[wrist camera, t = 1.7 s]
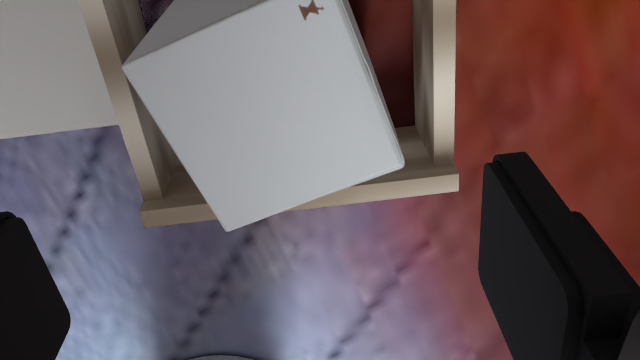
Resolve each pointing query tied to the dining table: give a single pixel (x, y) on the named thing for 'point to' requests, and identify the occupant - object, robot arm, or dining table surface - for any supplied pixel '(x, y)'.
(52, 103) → the mat
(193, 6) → the supplement box
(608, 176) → the dining table surface
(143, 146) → the cold frame
